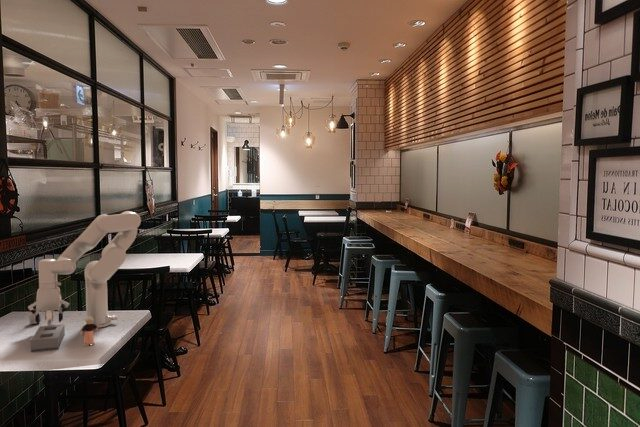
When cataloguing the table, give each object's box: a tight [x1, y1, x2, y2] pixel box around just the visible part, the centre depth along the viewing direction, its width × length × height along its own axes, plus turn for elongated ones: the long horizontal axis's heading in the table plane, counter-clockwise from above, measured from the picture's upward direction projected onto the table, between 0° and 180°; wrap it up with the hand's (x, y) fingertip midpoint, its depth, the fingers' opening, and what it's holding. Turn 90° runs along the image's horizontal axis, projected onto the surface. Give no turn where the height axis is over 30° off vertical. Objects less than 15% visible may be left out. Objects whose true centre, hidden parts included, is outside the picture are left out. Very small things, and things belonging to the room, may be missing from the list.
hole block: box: [30, 324, 66, 353], centre depth 215 cm, size 10×20×5 cm, turn 21°
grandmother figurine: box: [79, 316, 100, 347], centre depth 213 cm, size 8×4×13 cm, turn 148°
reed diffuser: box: [23, 283, 42, 325], centre depth 242 cm, size 10×7×20 cm
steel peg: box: [44, 310, 55, 326], centre depth 230 cm, size 4×4×12 cm
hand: (49, 322), depth 230 cm, fingers open, 8 cm apart
